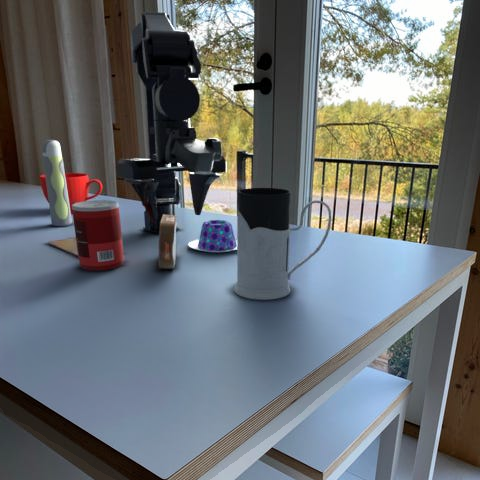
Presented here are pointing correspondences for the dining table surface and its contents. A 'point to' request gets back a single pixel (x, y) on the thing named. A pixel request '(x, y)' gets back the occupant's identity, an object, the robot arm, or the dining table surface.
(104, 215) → the canned food
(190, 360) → the dining table surface
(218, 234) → the pudding
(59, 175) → the spray bottle
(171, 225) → the tin
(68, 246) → the cork coaster
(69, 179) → the ceramic cup
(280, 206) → the glass holder
